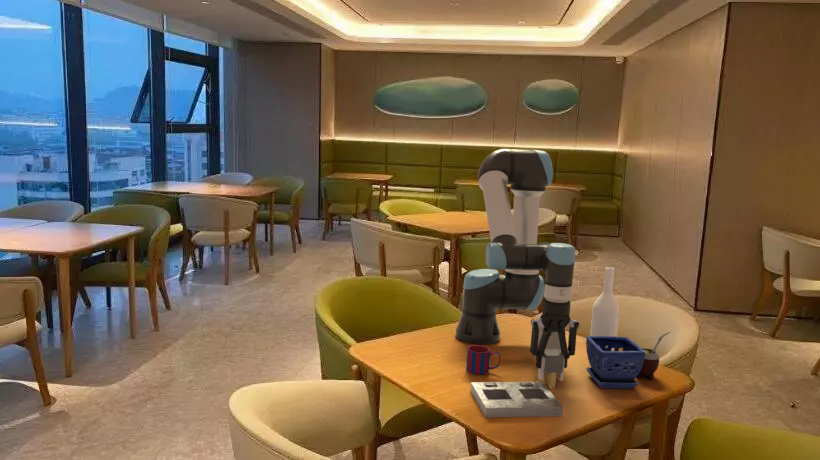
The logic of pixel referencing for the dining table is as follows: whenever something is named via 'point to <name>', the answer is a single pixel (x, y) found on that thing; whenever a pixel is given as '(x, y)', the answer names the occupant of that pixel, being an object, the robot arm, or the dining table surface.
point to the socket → (515, 399)
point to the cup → (479, 359)
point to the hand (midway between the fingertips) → (550, 378)
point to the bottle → (605, 310)
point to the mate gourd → (650, 361)
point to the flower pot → (614, 361)
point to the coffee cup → (550, 338)
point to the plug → (552, 365)
